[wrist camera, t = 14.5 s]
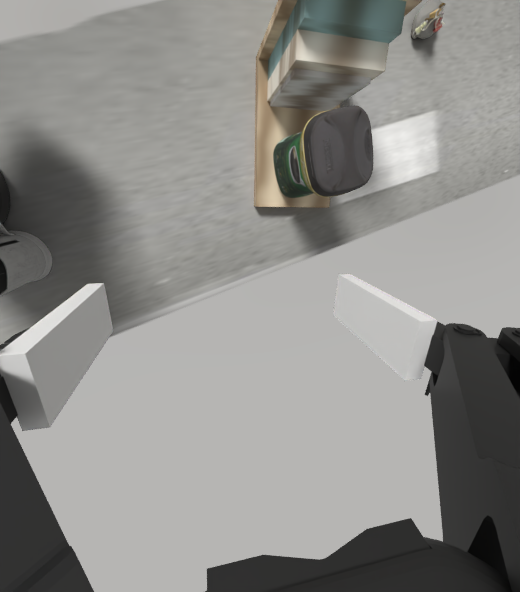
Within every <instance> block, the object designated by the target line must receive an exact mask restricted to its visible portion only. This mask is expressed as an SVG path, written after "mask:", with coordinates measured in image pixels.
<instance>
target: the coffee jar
mask: <svg viewBox="0 0 520 592" xmlns="http://www.w3.org/2000/svg"><path fill="white" fill-rule="evenodd" d="M273 162H274V169H275V175H276V179H277V183H278V186H279V188H280V191H281V192H282V194H283V195H285V196H286V197H289V198H298V197H304V196H308V195H311V194H313V193H315V194H316V195H318V196H321V197H333V196H338V195H342V194H345V193H347V192H350V191H352V190H355V189H357V188H360V187H362V186H363V185H365V184H366V183H367V182H368V180H369V178H370V176H371V174H372V170H373V145H372V134H371V125H370V121H369V118H368V115H367V114H366V112H365V111H364V110H363V109H362V108H361V107H359V106H347V107H341V108H337V109H332V110H328V111H324V112H321V113H319V114H317V115H315V116H313V117H312V118H311V119H310V120H309V121H308V122H307V123H306V125H305V127H304V129H303V131H302V132H299V133H296V134H293V135H291V136H288V137H286V138H284V139H283V140H281V141H280V142H279V143H278V144H277V145H276V146H275V149H274V152H273Z"/></svg>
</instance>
